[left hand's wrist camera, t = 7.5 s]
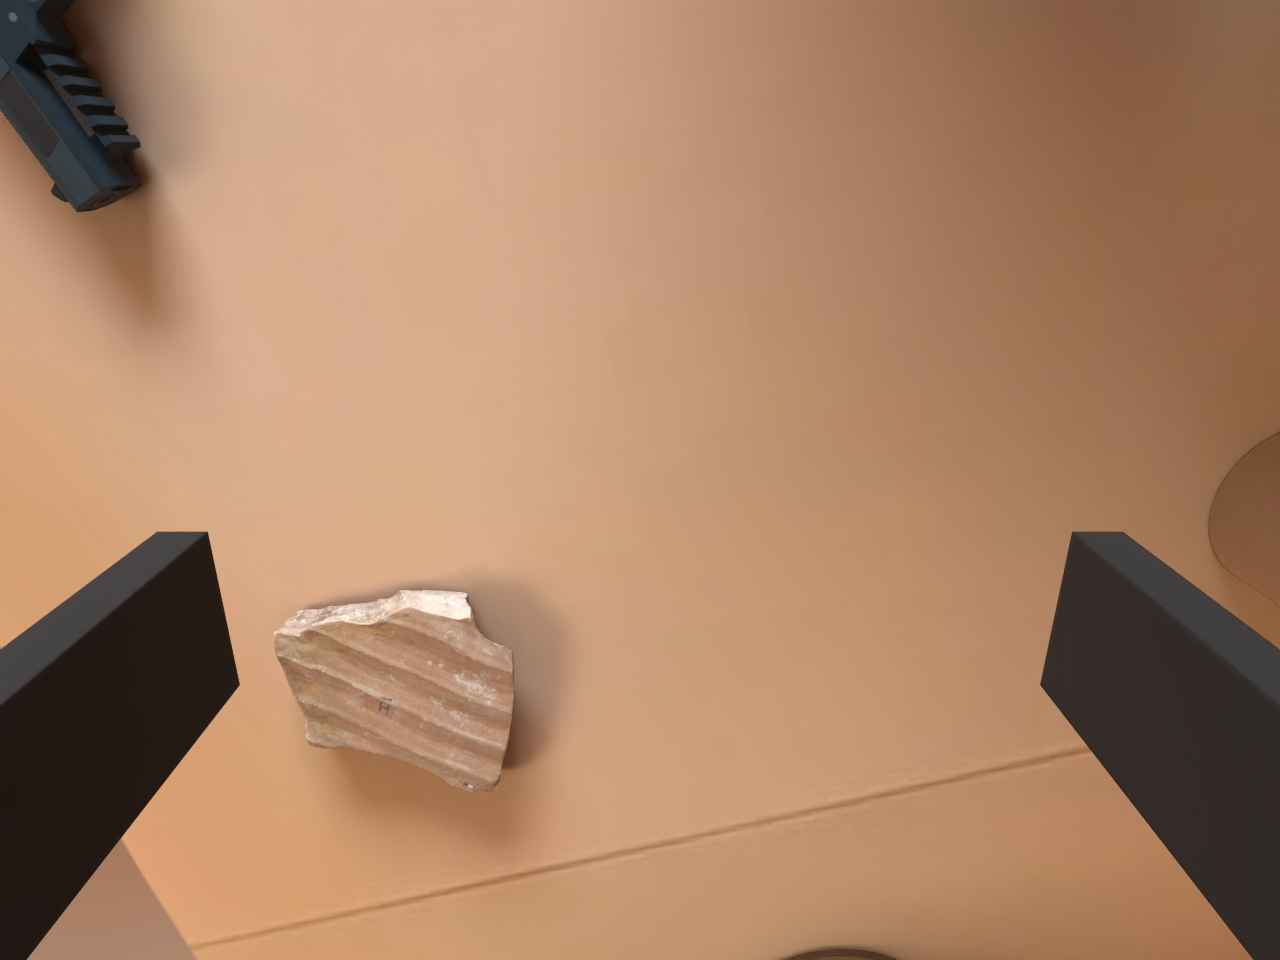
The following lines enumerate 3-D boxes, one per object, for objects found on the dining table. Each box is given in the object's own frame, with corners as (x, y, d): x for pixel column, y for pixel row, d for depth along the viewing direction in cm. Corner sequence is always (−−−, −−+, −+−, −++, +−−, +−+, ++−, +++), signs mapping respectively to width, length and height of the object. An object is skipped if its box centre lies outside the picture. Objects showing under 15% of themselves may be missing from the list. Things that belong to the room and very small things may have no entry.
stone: (532, 602, 44) (525, 627, 42) (505, 776, 48) (497, 807, 46) (293, 562, 43) (272, 585, 41) (286, 742, 48) (267, 772, 45)
